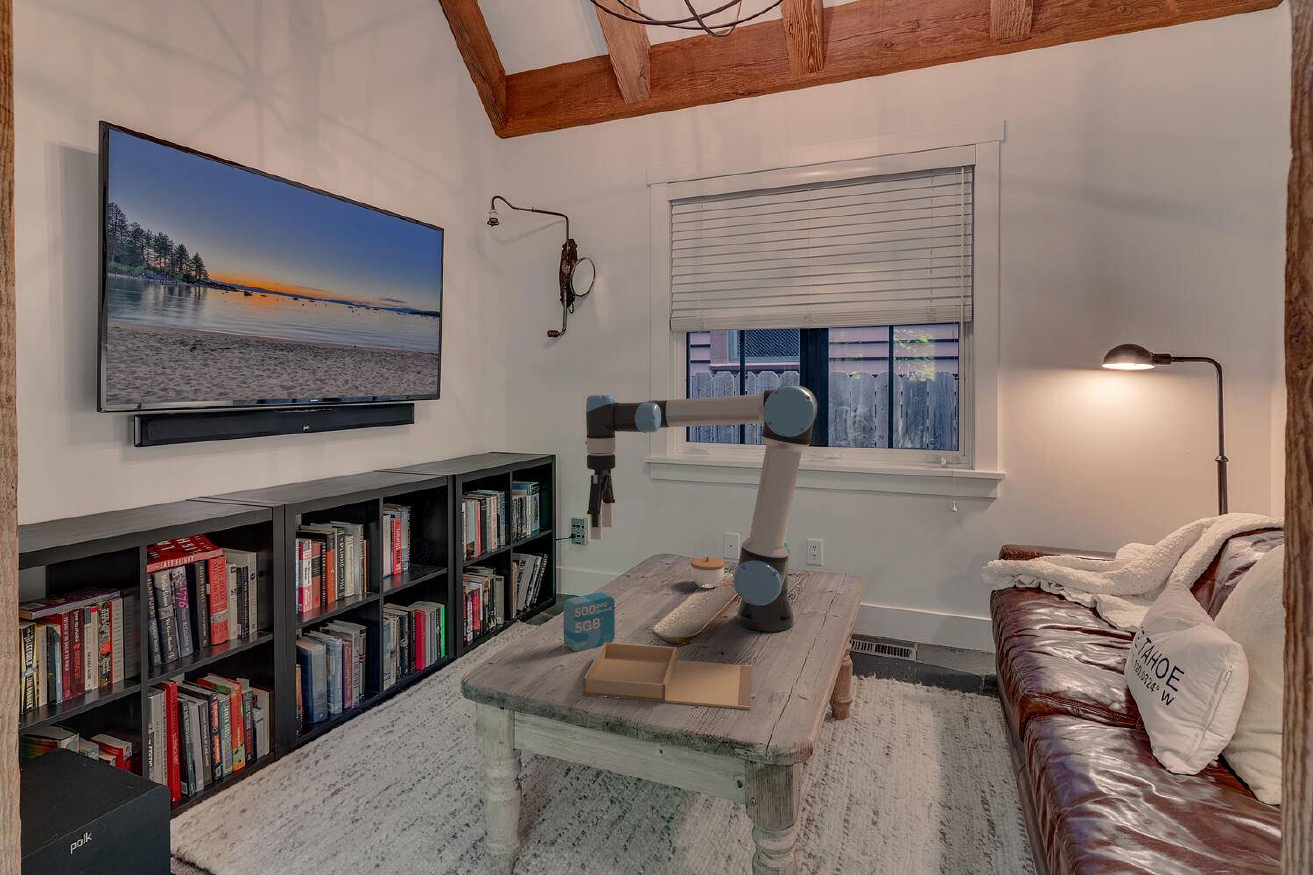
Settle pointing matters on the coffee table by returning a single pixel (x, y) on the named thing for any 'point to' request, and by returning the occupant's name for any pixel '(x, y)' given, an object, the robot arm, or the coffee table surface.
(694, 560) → the lidded jar
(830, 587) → the coffee table surface
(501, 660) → the coffee table surface
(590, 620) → the data package
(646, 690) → the mailer box
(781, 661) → the coffee table surface
